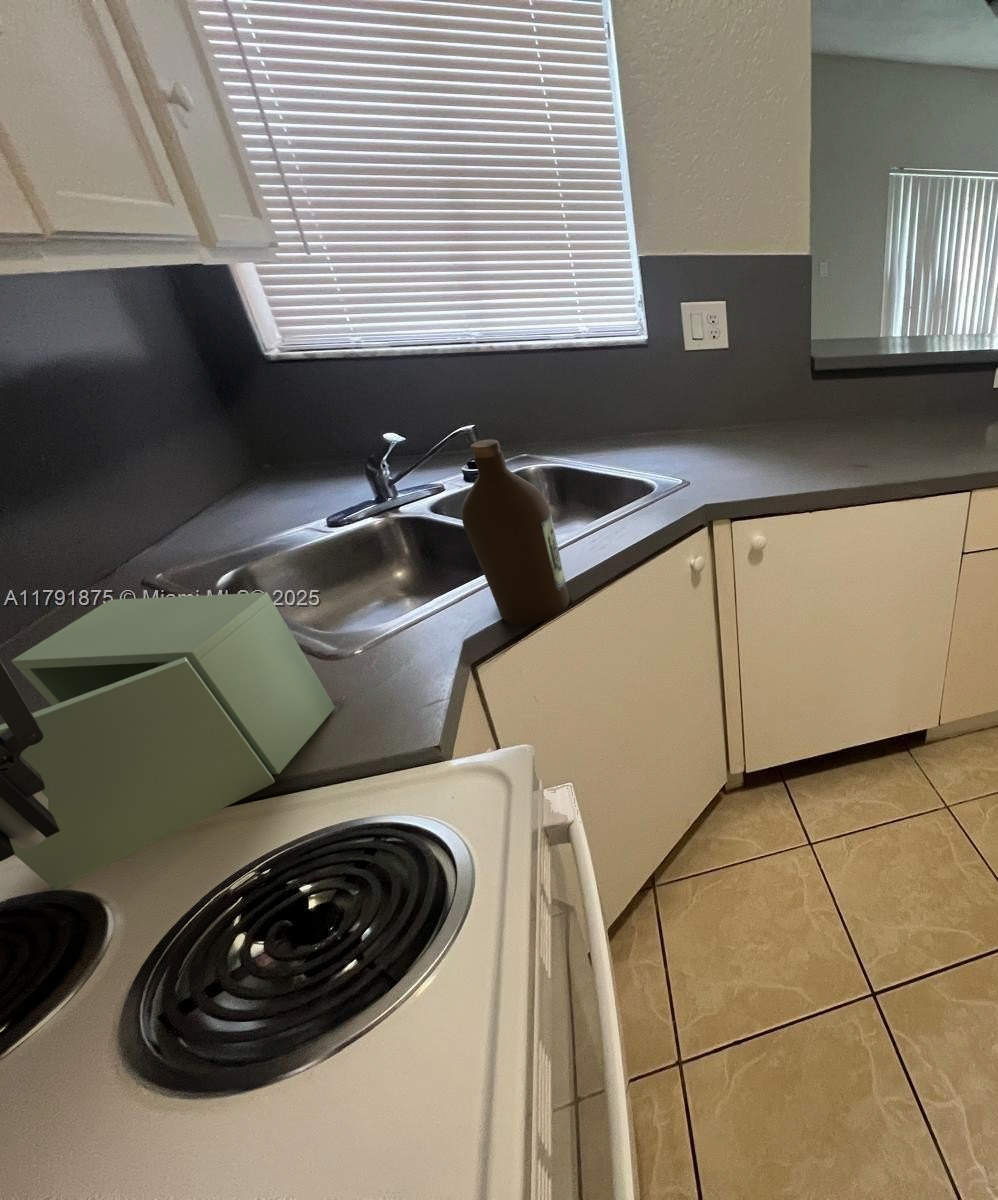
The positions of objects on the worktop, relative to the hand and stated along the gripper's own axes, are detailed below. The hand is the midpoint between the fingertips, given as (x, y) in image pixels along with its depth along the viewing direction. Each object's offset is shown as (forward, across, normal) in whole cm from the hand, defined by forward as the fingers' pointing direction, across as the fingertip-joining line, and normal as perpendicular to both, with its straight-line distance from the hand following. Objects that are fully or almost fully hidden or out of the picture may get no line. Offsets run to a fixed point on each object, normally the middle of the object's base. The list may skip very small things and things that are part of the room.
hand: (27, 836), depth 47 cm
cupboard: (+11, -13, -14) cm, 23 cm away
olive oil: (+11, -48, -10) cm, 51 cm away
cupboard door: (+11, -5, -3) cm, 12 cm away
